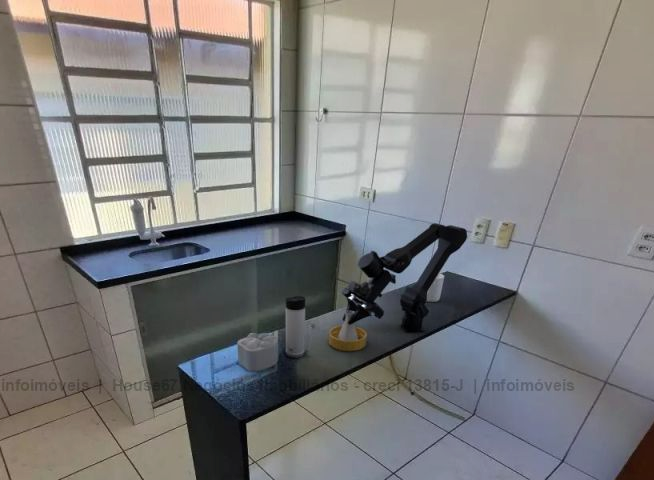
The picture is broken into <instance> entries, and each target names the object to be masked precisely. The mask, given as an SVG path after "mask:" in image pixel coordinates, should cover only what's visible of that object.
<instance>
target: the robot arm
mask: <svg viewBox="0 0 654 480" xmlns="http://www.w3.org/2000/svg"><path fill="white" fill-rule="evenodd" d="M467 239H468V231H467V229H466V228H464V227H460V226H456V225H451V224H449V225H445V224H441V223H438V222H437V223H436V222H434V223H432V224H431V223H430V225H429V227H428V228H427V229H425V230H424V231H423V232H421V233H420V234H418V235H417V236H416V237H415V238H414V239H412V240H411V241H409V242H408V243H407V244H406V245H403V246H402V247H398V248H394V249H393V250H391V251H389V252H387V253H386V254H385V255H384V256H379V254H378V253H377V251H374V250H371V251H370V252H368V253H365V254H364V255H363V256H361V257H360V258H359V260H358V262H357V266H358V268H359V269H360V270H361V271H362V272H363V273H364V275H365V276H366V277H367V278H369V280H368V281H366V280H365V281H364V282H362V283H360V282H357V281H355V280H352V279H350V280H349V283H348V285H347V287H344V288H343V289H342V291H340V292H341V294H342V295H343V296H344V297H345V298H346V300H347V305H346V309H345V311H349V310H352V311H354V314H353V316H352V317H351V318H350V320H349V321H348V324H349V325H351V324H353V323H354V324H355V323H357V322H359V321H361V320H363V319H365V318H366V319H367V318H368V317H373V315H372V313H373V314H374V317H375V318H377V319H379V320H381V319H382V318H383V316H384V315H385V310H383V308H382V307H381V306H380V305H379V304H378V303H377V302H375V301H376V300H377V299H378V298H382V296H383V294H382V293H383V291H384V290H385V289H386V287H387V286H388V285H389V284H394V285H396V284H397V281H396V279H397V278H396V277H397V276H396V275H395V274H402V273H404V271H405V270H406V269H407V268H409V266H411V263H412V261H413V259H414V258H415V257H417V256H418V255H420V253H422V252H423V251H425V250H426V249H427V248H428V247H429V246H431V245H432V244H433V243H435V242H436V241H437V249H436V250H435V251H434V253H433V255H432V257H431V258H430V260H429V262H428V263H427V265H426V266H425V268H424V270H423V272H422V273H421V274H420V276H419V277H418V279H417V281H416V283H415V284H414V285H412V286H411V287H410V286H407V287H405V289H404V291H403V293H402V294H401V295H400V300H399V303H400V307H401V310H402V311H403V312H404V313H403V316H402V319H401V324H400V326H401V328H402V329H403V330H404V332H405V333H421V332H424V329H423V328H422V327H423V321H424V319H425V317H427V316H428V314H429V313H430V310H429V309H428V307H427V306H426V303H427V302H426V301H427V292H428V290H429V288H430V286H431V285H432V283H433V282H434V280H435V279H436V277H437V275H438V274H439V273H441V271H442V269H443V268H444V266H445V264H446V263H447V261H448V260H449V258H450V256H451V255H453V254H454V253H456V252H458V251H459V250H460V249H461V248H462V246H463V245H464V244H465V242H466V241H467ZM391 272H392V273H391ZM393 273H395V274H393ZM345 317H346V314H345V313H344V314H343V317H342V321H343V322H344V321H345Z"/></svg>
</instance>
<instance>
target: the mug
mask: <svg viewBox="0 0 654 480" xmlns="http://www.w3.org/2000/svg"><path fill="white" fill-rule="evenodd" d="M444 279H445V275H444V274H442V273H441V272H439V274H438V275H437V277H436V279H435V280H434V282H433V283H432V285H431V286H430V288H429V290H428V292H427V301H426V303H436V302H438V301H440V298H441V295H442V291H443V284H444Z"/></svg>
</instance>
